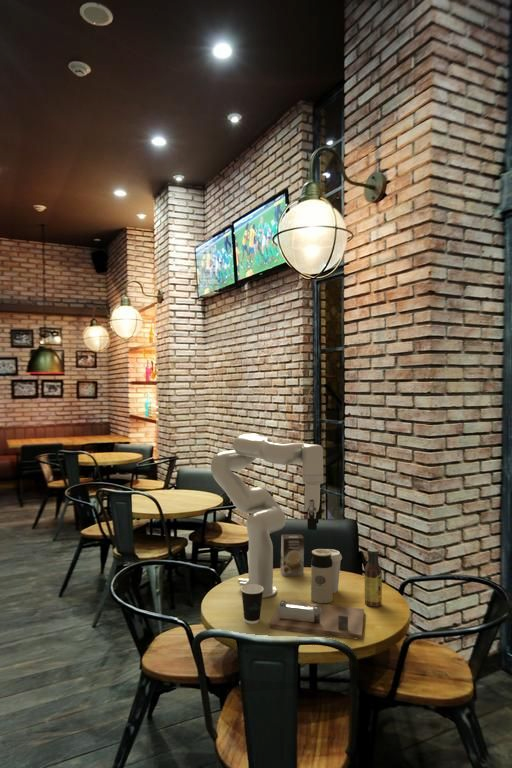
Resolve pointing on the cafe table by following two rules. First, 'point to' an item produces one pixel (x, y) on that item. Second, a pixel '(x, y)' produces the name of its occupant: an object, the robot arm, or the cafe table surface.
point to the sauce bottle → (373, 580)
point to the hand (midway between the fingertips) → (313, 526)
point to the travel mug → (321, 576)
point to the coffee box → (292, 555)
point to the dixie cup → (252, 602)
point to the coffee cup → (335, 569)
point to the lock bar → (299, 612)
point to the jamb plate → (324, 621)
